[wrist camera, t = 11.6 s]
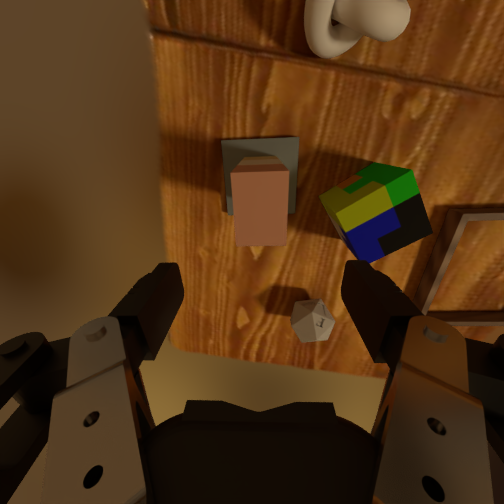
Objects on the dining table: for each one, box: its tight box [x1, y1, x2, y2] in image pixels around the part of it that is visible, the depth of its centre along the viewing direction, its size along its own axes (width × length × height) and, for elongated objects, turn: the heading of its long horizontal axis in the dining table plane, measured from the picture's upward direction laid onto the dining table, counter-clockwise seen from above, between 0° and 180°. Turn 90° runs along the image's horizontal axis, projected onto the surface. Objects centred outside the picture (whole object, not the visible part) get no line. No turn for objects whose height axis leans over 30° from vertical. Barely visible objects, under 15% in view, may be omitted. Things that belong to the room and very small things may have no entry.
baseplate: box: [221, 137, 299, 215], centre depth 36 cm, size 12×12×1 cm
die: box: [290, 298, 335, 342], centre depth 45 cm, size 8×9×10 cm
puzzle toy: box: [318, 162, 433, 263], centre depth 34 cm, size 10×10×10 cm
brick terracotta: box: [231, 164, 289, 246], centre depth 23 cm, size 7×5×6 cm
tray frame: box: [413, 207, 504, 326], centre depth 42 cm, size 25×23×3 cm
